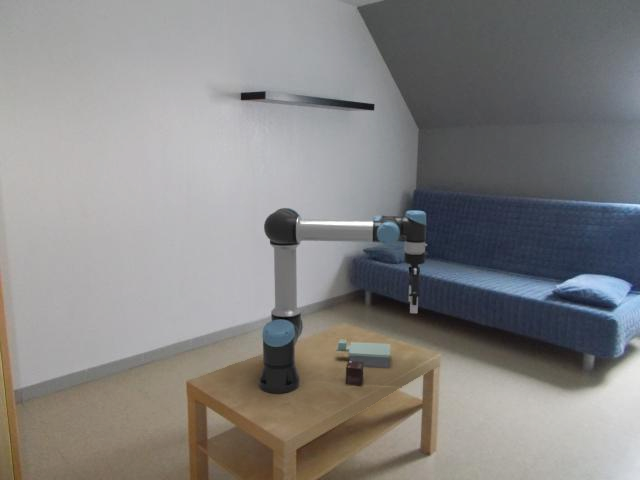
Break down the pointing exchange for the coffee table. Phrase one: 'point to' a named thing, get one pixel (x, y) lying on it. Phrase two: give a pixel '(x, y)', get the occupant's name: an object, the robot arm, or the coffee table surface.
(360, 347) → the lid
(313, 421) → the coffee table surface
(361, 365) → the box
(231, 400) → the coffee table surface
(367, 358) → the tub
